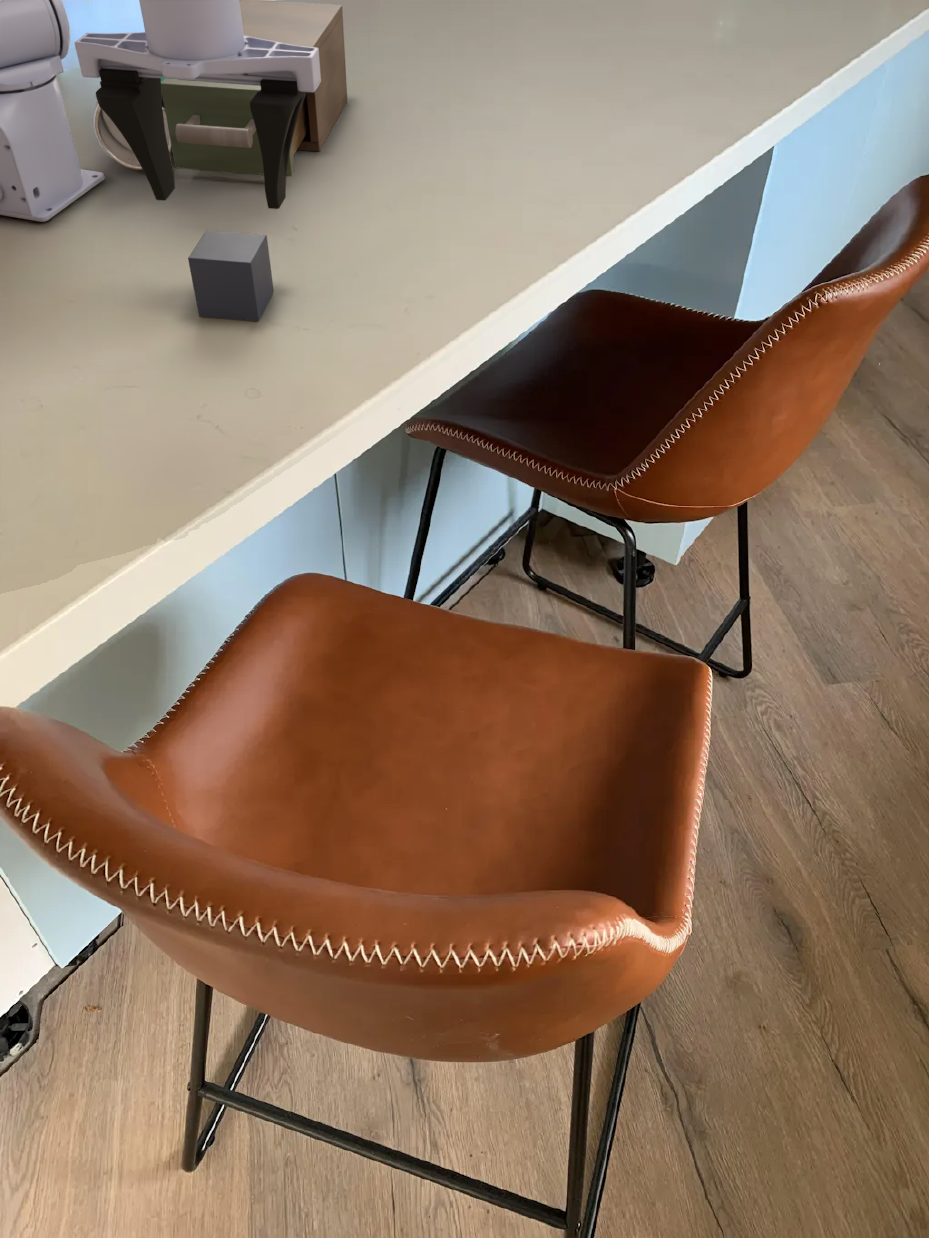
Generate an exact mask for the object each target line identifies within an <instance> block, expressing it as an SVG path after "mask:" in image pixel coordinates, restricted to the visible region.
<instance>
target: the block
mask: <svg viewBox="0 0 929 1238" xmlns="http://www.w3.org/2000/svg"><path fill="white" fill-rule="evenodd" d="M187 261H188V266H189V271H190V275H191V282H192V287H193V293H194V298H195V302H196V308H197V313H198V317H200V318H208V319H209V318H211V319H222V320H233V321H246V322H260V320H261V319H262V316H263V314H264V312H265V311H266V308H267V306H268V305H269V302H270V300H271V299H272V296H273V294H274V290H275V289H274V282H273V275H272V267H271V257H270V250H269V243H268V235H267V234H262V233H249V232H236V231H235V232H234V231H225V230H223V231H222V230H210V229H206V231H205V232H204V234H202V236H201V238H200V239H199V241H198V242H197V244H196V245H195V247H194V249H193V250H192V251H191V253H190V254H189V256H188V258H187Z"/></svg>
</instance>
